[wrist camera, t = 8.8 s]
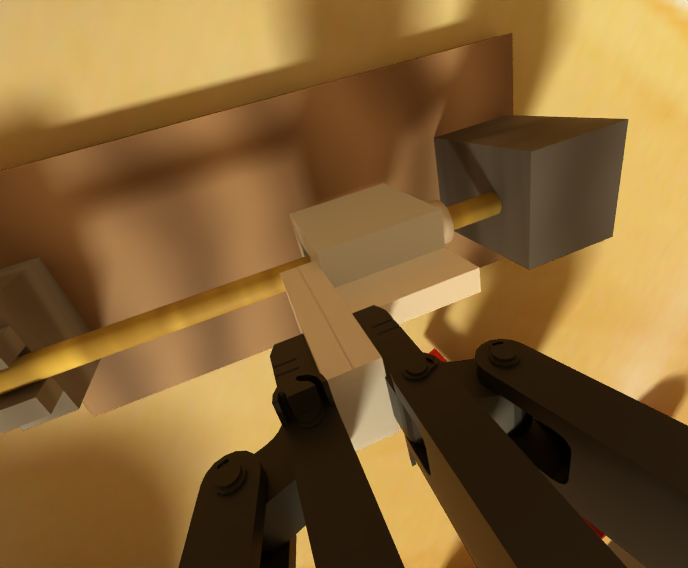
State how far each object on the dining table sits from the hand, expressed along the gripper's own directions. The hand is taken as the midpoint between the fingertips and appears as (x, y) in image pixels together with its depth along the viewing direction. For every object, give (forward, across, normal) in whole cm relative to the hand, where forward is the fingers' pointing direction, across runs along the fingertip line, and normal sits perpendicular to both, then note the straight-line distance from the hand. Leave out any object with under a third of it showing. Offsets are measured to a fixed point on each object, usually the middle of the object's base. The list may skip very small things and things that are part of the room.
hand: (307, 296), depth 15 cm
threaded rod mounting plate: (+9, +1, 0) cm, 9 cm away
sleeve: (+5, +3, 0) cm, 6 cm away
